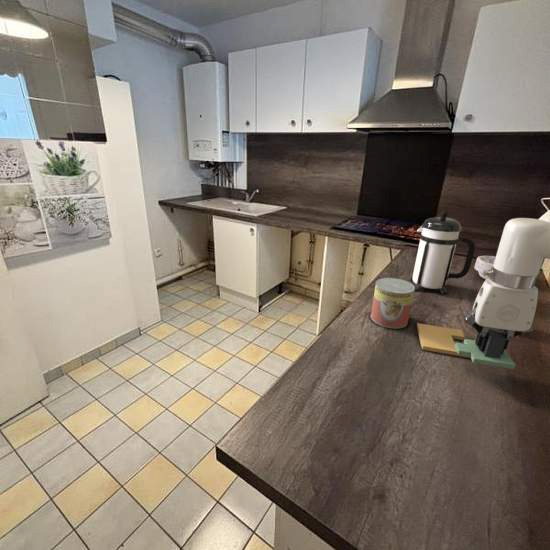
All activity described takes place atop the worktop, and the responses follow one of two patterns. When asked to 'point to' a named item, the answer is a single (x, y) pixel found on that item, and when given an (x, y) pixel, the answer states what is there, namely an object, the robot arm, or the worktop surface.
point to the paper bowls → (484, 264)
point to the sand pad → (439, 339)
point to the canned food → (392, 302)
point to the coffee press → (439, 253)
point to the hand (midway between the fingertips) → (489, 348)
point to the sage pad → (479, 356)
